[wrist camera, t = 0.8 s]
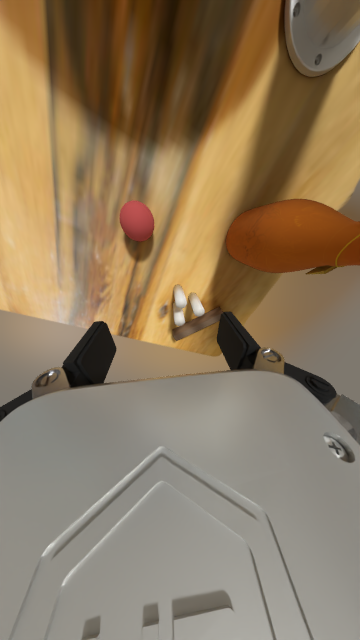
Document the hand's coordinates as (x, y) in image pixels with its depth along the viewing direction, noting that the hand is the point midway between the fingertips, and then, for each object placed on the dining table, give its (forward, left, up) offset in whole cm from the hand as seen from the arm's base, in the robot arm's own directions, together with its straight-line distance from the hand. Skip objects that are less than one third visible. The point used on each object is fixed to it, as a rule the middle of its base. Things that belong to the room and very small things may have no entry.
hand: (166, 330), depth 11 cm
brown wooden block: (0, +19, -25) cm, 31 cm away
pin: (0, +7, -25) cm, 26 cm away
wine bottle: (-19, +4, -25) cm, 32 cm away
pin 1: (+3, +11, -25) cm, 27 cm away
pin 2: (-2, +11, -25) cm, 27 cm away
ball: (0, -9, -22) cm, 24 cm away
